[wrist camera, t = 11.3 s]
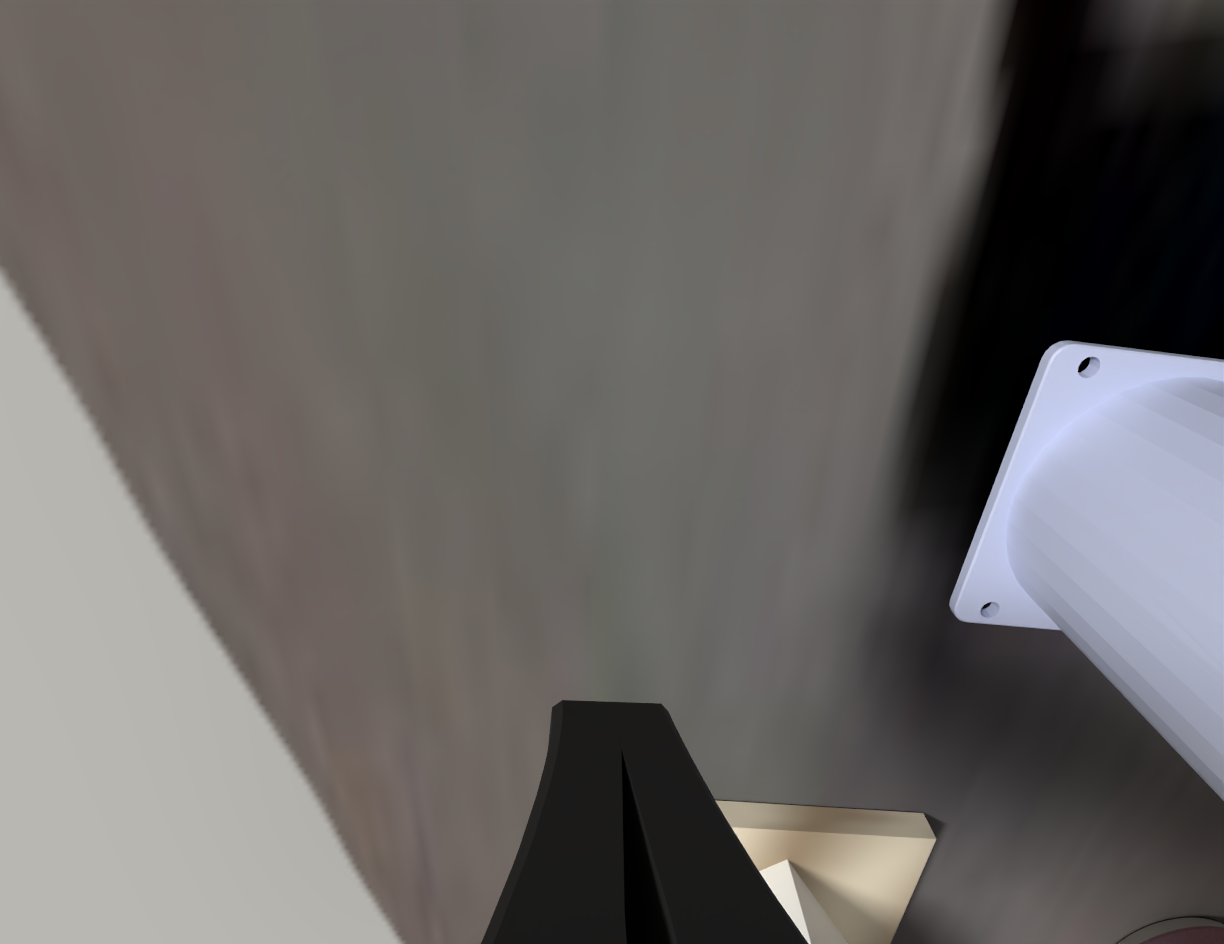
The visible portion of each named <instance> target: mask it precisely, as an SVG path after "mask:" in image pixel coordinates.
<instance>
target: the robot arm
mask: <svg viewBox="0 0 1224 944" xmlns="http://www.w3.org/2000/svg"><path fill="white" fill-rule="evenodd" d="M1087 357H1090V363H1089V365H1088V367H1087V368H1086V369H1085V370H1083V371H1082V372H1079V373H1078V367H1079V365H1080V363H1081V362H1082V361H1083V360H1084V359H1086V358H1087ZM988 602H992V603H991V605H990V606H989V607H987V608H985V609H981V608H982V607H983V606H984V605H985V604H987V603H988ZM949 606H950V609H951V611H952V612H953V613H954V615H955V616H956V617H957V618H958V619H959V620H960V621H964V622H971V623H982V624H994V625H1006V626H1017V627H1029V628H1040V629H1052V630H1062V631H1063V632H1064V633H1065V634H1066V636H1067V637H1068V638H1069V639H1070V640H1071V641H1072V642H1073V643H1074V644H1075V645H1076V646H1077V647H1078V648H1079V649H1080V650H1081V651H1082V652H1083V653H1084V654H1085V656H1086V657H1087V658H1088V659H1089V660H1090V661H1091V662H1092V663H1093V664H1094V665H1095V666H1096V667H1097V668H1098V669H1099V670H1100V671H1101V672H1102V673H1103V674H1104V676H1105V677H1106V678H1107V679H1108V680H1109V681H1110V682H1111V683H1112V684H1113V685H1114V686H1115V687H1116V688H1117V689H1118V690H1119V691H1120V692H1121V693H1122V694H1123V696H1124V697H1125V698H1126V699H1127V700H1128V701H1129V702H1130V703H1131V704H1132V705H1133V706H1134V707H1135V708H1136V709H1137V710H1138V711H1139V712H1140V713H1141V714H1142V716H1143V717H1144V718H1145V719H1146V720H1147V721H1148V722H1149V723H1150V724H1151V725H1152V726H1153V727H1154V728H1155V729H1156V730H1157V731H1158V732H1159V733H1160V734H1161V736H1162V737H1163V738H1164V739H1165V740H1166V741H1167V742H1168V743H1169V744H1170V745H1171V746H1172V747H1173V748H1174V749H1175V750H1176V751H1177V752H1178V753H1179V754H1180V756H1181V757H1182V758H1183V759H1184V760H1185V761H1186V762H1187V763H1188V764H1189V765H1190V766H1191V767H1192V768H1193V769H1194V770H1195V771H1196V772H1197V773H1198V775H1199V776H1200V777H1201V778H1202V779H1203V780H1204V781H1205V782H1206V783H1207V784H1208V785H1209V786H1210V787H1211V788H1212V789H1213V790H1214V791H1215V792H1216V793H1217V795H1218V796H1219V797H1220V798H1221V799H1222V800H1223V801H1224V360H1221V359H1213V358H1205V357H1197V356H1189V355H1180V354H1172V353H1164V352H1156V351H1148V350H1140V349H1132V348H1124V347H1116V346H1108V345H1100V344H1092V343H1084V342H1075V341H1060V342H1058V343H1056V344H1054V345H1052V346H1051V347H1050V348H1049V349H1048V350H1046V352H1045V353H1044V355H1043V357H1042V359H1041V361H1040V364H1039V367H1038V369H1037V372H1036V374H1035V377H1034V380H1033V382H1032V385H1031V388H1030V390H1029V393H1028V396H1027V398H1026V401H1025V403H1024V406H1023V409H1022V411H1021V414H1020V417H1019V419H1018V422H1017V425H1016V427H1015V430H1014V432H1013V435H1012V438H1011V440H1010V443H1009V446H1008V448H1007V451H1006V454H1005V456H1004V459H1003V462H1002V464H1001V467H1000V469H999V472H998V475H997V477H996V480H995V483H994V485H993V488H992V491H991V493H990V496H989V498H988V501H987V504H986V506H985V509H984V512H983V514H982V517H981V520H980V522H979V525H978V527H977V530H976V533H975V535H974V538H973V541H972V543H971V546H970V549H969V551H968V554H967V557H966V559H965V562H964V564H963V567H962V570H961V572H960V575H959V578H958V580H957V583H956V586H955V588H954V591H953V593H952V596H951V599H950V604H949ZM481 944H809V943H808V942H807V941H806V939H805V938H804V936H803V935H802V934H801V932H800V931H799V929H798V928H797V926H796V925H795V924H794V922H793V921H792V919H791V918H790V916H789V915H788V914H787V912H786V911H785V909H784V908H783V906H782V905H781V903H780V902H779V901H778V899H777V898H776V896H775V895H774V893H773V892H772V890H771V889H770V887H769V886H768V884H767V883H766V881H765V880H764V878H763V877H762V875H761V874H760V872H759V871H758V869H757V867H756V866H755V864H754V863H753V861H752V859H751V858H750V856H749V855H748V853H747V851H746V850H745V848H744V847H743V845H742V843H741V842H740V840H739V839H738V837H737V835H736V834H735V832H734V831H733V829H732V827H731V826H730V824H729V823H728V821H727V819H726V818H725V816H724V814H723V813H722V811H721V809H720V808H719V806H718V804H717V803H716V801H715V799H714V797H713V796H712V794H711V792H710V790H709V789H708V787H707V785H706V783H705V781H704V780H703V778H702V776H701V774H700V773H699V771H698V769H697V767H696V765H695V763H694V762H693V760H692V758H691V756H690V754H689V752H688V750H687V748H686V747H685V745H684V743H683V741H682V739H681V737H680V735H679V733H678V731H677V729H676V727H675V725H674V723H673V721H672V719H671V716H670V714H669V712H668V711H667V710H666V709H665V708H664V706H663V705H662V704H655V703H626V702H597V701H568V700H562V701H561V702H559V703H558V704H556V705H555V706H553V707H552V715H551V725H550V735H549V745H548V753H547V757H546V762H545V766H544V770H543V774H542V777H541V781H540V785H539V789H538V792H537V796H536V799H535V802H534V805H533V808H532V811H531V814H530V817H529V820H528V823H527V826H526V829H525V832H524V835H523V838H522V841H521V844H520V848H519V850H518V853H517V856H516V859H515V861H514V864H513V867H512V869H511V871H510V874H509V876H508V879H507V881H506V884H505V886H504V889H503V891H502V894H501V896H500V899H499V901H498V904H497V906H496V909H495V911H494V914H493V916H492V919H491V921H490V924H489V926H488V928H487V931H486V933H485V936H484V938H483V940H482V942H481Z"/></svg>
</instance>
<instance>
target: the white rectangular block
mask: <svg viewBox="0 0 1224 944" xmlns="http://www.w3.org/2000/svg"><path fill="white" fill-rule="evenodd" d="M759 872H760V874H761V875H762V877H763V878H764V880H765V881H766V883H767V884H768V886H769V887H770V889H771V890H772V892H773V893H774V895H775V896H776V898H777V899H778V901H779V902H780V903H781V905H782V906H783V908H784V909H785V911H786V912H787V914H788V915H789V916H790V918H791V919H792V921H793V922H794V924H795V925H796V926H797V928H798V929H799V931H800V932H801V934H802V935H803V936H804V938H805V939H806V941H807V942H808V943H809V944H848V943H847V941H846V940H845V939H844V937H843V936H842V934H841V933H840V932H839V930H838V929H837V927H836V926H835V925H834V923H833V922H832V921H831V919H830V918H829V916H828V915H827V914H826V912H825V911H824V909H823V908H822V907H821V905H820V904H819V902H818V901H817V900H816V898H815V897H814V896H813V894H812V893H811V891H810V890H809V889H808V887H807V886H806V884H805V883H804V882H803V880H802V879H801V878H800V876H799V875H798V873H797V872H796V871H795V869H794V868H793V866H792V865H791V864H790V862H789V861H788V860H785V861H782V862H780V863H778V864H775V865H773V866H770V867H768V868H766V869H763V870H761V871H759Z"/></svg>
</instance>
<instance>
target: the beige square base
mask: <svg viewBox="0 0 1224 944" xmlns="http://www.w3.org/2000/svg"><path fill="white" fill-rule="evenodd" d="M715 801H716V803H717V804H718V806H719V808H720V809H721V811H722V813H723V814H724V816H725V818H726V819H727V821H728V823H729V824H730V826H731V827H732V829H733V831H734V832H735V834H736V835H737V837H738V839H739V840H740V842H741V843H742V845H743V847H744V848H745V850H746V851H747V853H748V855H749V856H750V858H751V859H752V861H753V863H754V864H755V866H756V867H757V869H758V871H761V870H763V869H766V868H768V867H770V866H773V865H775V864H778V863H780V862H782V861H785V860H788V861H789V862H790V864H791V865H792V866H793V868H794V869H795V871H796V872H797V873H798V875H799V876H800V878H801V879H802V880H803V882H804V883H805V884H806V886H807V887H808V889H809V890H810V891H811V893H812V894H813V896H814V897H815V898H816V900H817V901H818V902H819V904H820V905H821V907H822V908H823V909H824V911H825V912H826V914H827V915H828V916H829V918H830V919H831V921H832V922H833V923H834V925H835V926H836V927H837V929H838V930H839V932H840V933H841V934H842V936H843V937H844V939H845V940H846V941H847V943H848V944H891V941H892V939H893V937H894V934H895V932H896V930H897V928H898V925H899V923H900V921H901V918H902V916H903V914H904V912H905V909H906V907H907V905H908V903H909V900H910V898H911V896H912V893H913V891H914V889H915V887H916V884H917V882H918V880H919V878H920V875H921V873H922V871H923V868H924V866H925V864H926V862H927V859H928V857H929V855H930V853H931V850H932V848H933V846H934V843H935V841H936V837H935V835H934V833H933V831H932V829H931V827H930V825H929V823H928V821H927V819H926V817H925V815H924V813H913V812H897V811H880V810H864V809H848V808H831V807H815V806H799V805H783V804H766V803H750V802H734V801H717V800H715Z"/></svg>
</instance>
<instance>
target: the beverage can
mask: <svg viewBox="0 0 1224 944" xmlns="http://www.w3.org/2000/svg"><path fill="white" fill-rule="evenodd" d="M1118 944H1224V924H1222V923H1220V922H1217V921H1214V920H1210V919H1205V918H1193V917H1191V918H1177V919H1171V920H1166V921H1162V922H1158V923H1155V924H1152V925H1150V926H1147V927H1145V928H1142V929H1140V930H1138V931H1136V932H1134V933H1132V934H1131V935H1129V936H1127V937H1126V938H1124V939H1123V940H1122V941H1120V942H1119V943H1118Z"/></svg>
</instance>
